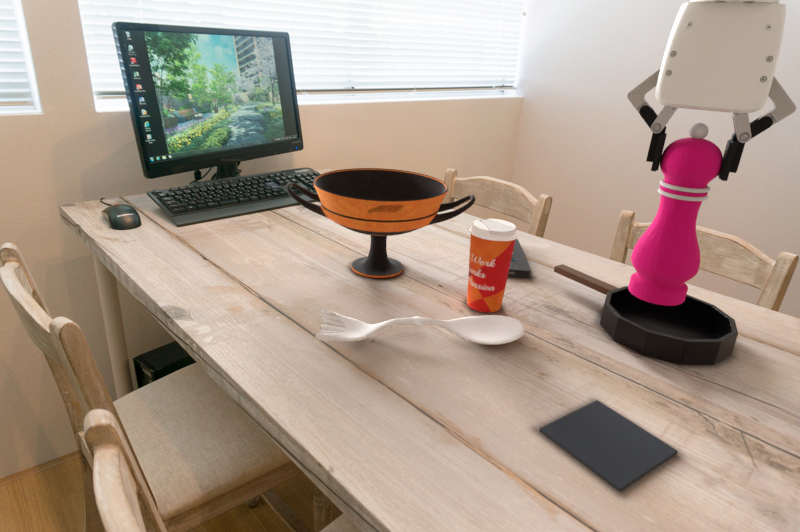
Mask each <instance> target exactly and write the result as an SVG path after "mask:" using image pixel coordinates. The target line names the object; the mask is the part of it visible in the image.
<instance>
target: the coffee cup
mask: <svg viewBox="0 0 800 532" xmlns="http://www.w3.org/2000/svg"><path fill="white" fill-rule="evenodd" d="M517 229H518V228H517V226H516V225H515V223H512V222H510V221H507V220H504V219H500V218H499V219H498V218H491V217H490V218H481V219H475V220H474V221H472V224H471V226H470V227H469V229H468V232H469V233H470V239H469V257H468V258H469V259H468V275H467V276H468V277H467V294H466V295H467V297H466V299H467V301H466V303H467V306H468V307H469V308H470V309H472V310H474V311H476V312H480V313H486V314H487V313H489V314H490V313H495V312H498V311H500V309H501V308H502V304H503V300H504V297H505V296H504V295H505V290H506V287H507V281H508V277H509V276H508V273H509V268H510V263H511V258H512V254H513V249H514V244H515V239H518V237H519V233H518V231H517Z"/></svg>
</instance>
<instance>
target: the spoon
mask: <svg viewBox="0 0 800 532" xmlns="http://www.w3.org/2000/svg"><path fill="white" fill-rule="evenodd" d="M317 313H318V314H319V315H318V317H319V319H318V320H319V322H320V323H321V324H320V325H319V327H320V329H318V332H317V334H315V336H314V337H315V339H316V340H318V341H322V342H360V341H364V340H367V339H368V338H370V337H373V336H374V335H376V334H378V333H380V332H383V331H384V330H386V329H390V328H392V327H399V326H410V327H411V326H412V327H415V328H424V326H433V327H437V328H439V329H443V330H445V331H447V332H449V333H451V334H453V335H455V336H456V337H459V338H461V339H462V340H465V341H468V342H472V343H474V344H478V345H479V344H480V345H487V346H488V345H489V346H499V345H505V344H509V343H512V342H514V341H517V340H519V339H521V338H522V336H524V334H525V326H524V325H523V324H524V323H522V321H520V320H519V319H517V318H515V317H513V316H507V315H499V314H498V315H497V314H485V315H483V314H482V315H472V316H463V317H457V318H452V319H448V320H447V319H445V320H444V319H436V318H431V317H430V318H429V317H422V316H420V315H415V316H413V317H398V318H392V319H388V320H385V321H381V322H378V323H374V324H371V323H366V322H363V321H362V320H359V319H356V318H353V317H349V316H346V315H343V314H341V313H338V312H335V311H333V310H331V309H328V308H324V307H319V308H317Z"/></svg>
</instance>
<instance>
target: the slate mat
mask: <svg viewBox="0 0 800 532" xmlns="http://www.w3.org/2000/svg"><path fill="white" fill-rule="evenodd" d="M539 432H540V433H542V434H543V435H545V436H546V437H547V438H548V439H549V440H551V441H552V442H553V443H555V444H556V445H558V446H559V447H560V448H561V449H563V450H564V451H566V453H568V454H569V455H571V457H573V458H575V460H577V461H579V463H582V465H584V466H585V467H586V468H588V469H589V470H590V471H592V472H593V473H594V474H596V475H597V476H598V477H600V478H601V479H602V480H603V481H605V482H607V484H609V485H610V486H612V487H613V488H614V489H615V490H617V491H618V492H622V491H623V490H625V489H627V488H628V487H630V486H631V485H632V484H633V483H635V482H637V481H639V480H640V479H641V478H643V477H644V476H645V475H647V474H649V473H650V472H651V471H653V470H654V469H656V468H657V467H659V466H661V465H663V464H664V463H665V462H666V461H668V460H669V459H671V458H673V457H674V456H676V455H677V454H678V452H679V451H678V450H677V449H675V448H674V447H673V446H671V445H669V444H668V443H666V442H664V441H662V439H660V438H658V437H657V436H655V435H653V434H652V433H651V432H648V431H647V430H645V429H644V428H642V427H641V426H639V425H638V424H636V423H635V422H633V421H631V420H630V419H628V418H627V417H625V416H624V415H622V414H621V413H618V412H617V411H615V410H614V409H612V408H610V407H609V406H607V405H606V404H605V403H602V402H601V401H599V400H598V399H596V400H594V401H592V402H590V403H588V404H586V405H583V406H582V407H580V408H578V409H577V410H574V411H572V412H569V413H568V414H565V415H564V416H561V417H559V418H558V419H556V420H554V421H551V422H550V423H548V424H545V425H544V426H541V427H540V428H539Z"/></svg>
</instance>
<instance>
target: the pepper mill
mask: <svg viewBox="0 0 800 532" xmlns="http://www.w3.org/2000/svg"><path fill="white" fill-rule="evenodd" d="M688 134H689V136H688V137H682V138H678V139H676V140H673V142H670V143H669V145H667V146H666V147H665V148H664V149H663V152H662V156H661V160H660V164H659V168H660V171H661V172H662V174H663V177H664V178H663V179H661V180H660V181H659V187H658V189H657V193H658V194H660V198H659V205H658V208H657V211H656V214H655V216H654V218H653V220H652V222H651V223H650V224H649V226H648V227H647V228H646V230H645V231H644V232H643V233H642V235H641V236H640V237H639V239H638V240H637V241H636V244H635V245H634V247H633V249H632V253H631V255H630V262H631V265H632V267H633V268H634V270H635V271H636V272H634V273H632V274H631V275H630V278H629V283H628V285H627V286H628V290H629V291H630V293H631V294H632V295H634V296H635V297H637V298H639V299H641V300H644V301H646V302H650V303H653V304H658V305H665V306H675V305H680V304H682V303H683V302H684V301H685V298H686V294H687V295H688V290H689V287H688V285H687V284H686V282H688V281H690V280H692V279H693V278H694V277H696V276H697V274H698V272H699V270H700V266H701V251H700V250H701V249H700V246H699V241H698V235H697V220H698V214H699V211H700V209H701V207H702V204H703V202H704V201H706V200H708V198H709V196H708V194H709V192H710V191H711V186H709V183H710V182H712V181H713V180H714V179H716V178H717V177H719V176H718V174H719V173H720V171H721V168H722V164H723V152H722V151H721V149H720V148H719V146H718V145H716V143H714V142H712V141H711V140H709V139H705V138H707V136H708V134H709V127H708V125H707V124H705V123H702V122H697V123H695V124H693V125H692V126H691V127H690V129H689V132H688Z"/></svg>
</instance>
